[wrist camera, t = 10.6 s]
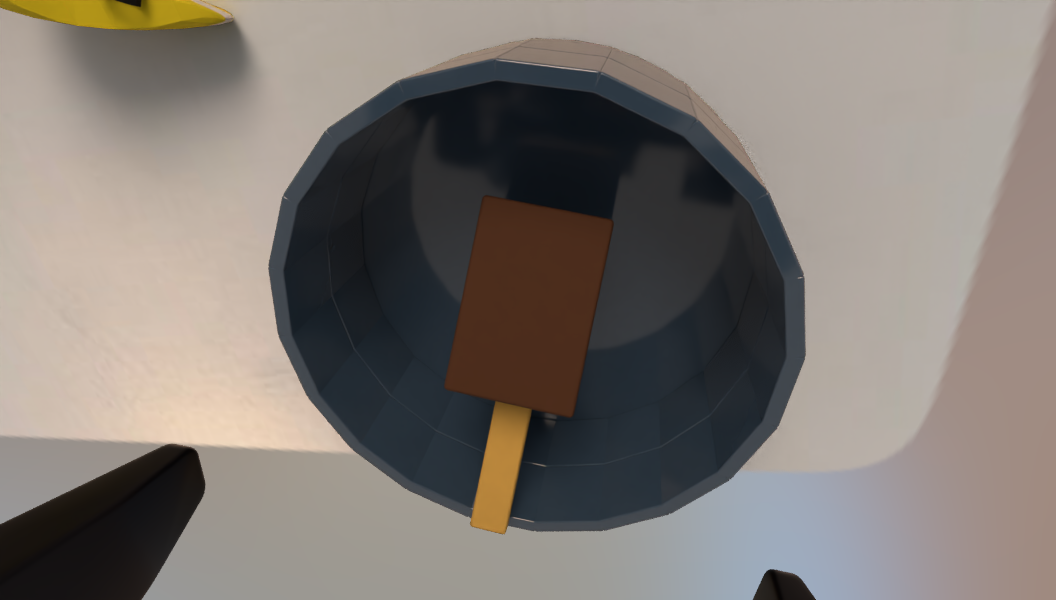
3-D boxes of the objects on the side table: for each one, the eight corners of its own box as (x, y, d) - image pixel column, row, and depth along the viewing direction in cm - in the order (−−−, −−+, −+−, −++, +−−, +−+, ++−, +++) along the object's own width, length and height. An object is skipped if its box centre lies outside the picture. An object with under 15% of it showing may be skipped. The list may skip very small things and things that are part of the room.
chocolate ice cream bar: (609, 232, 17) (615, 219, 14) (546, 528, 17) (539, 579, 14) (499, 211, 17) (482, 193, 14) (440, 502, 17) (410, 546, 14)
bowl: (827, 68, 14) (906, 107, 10) (706, 446, 20) (721, 572, 16) (347, 13, 16) (231, 25, 11) (368, 382, 22) (298, 482, 17)
